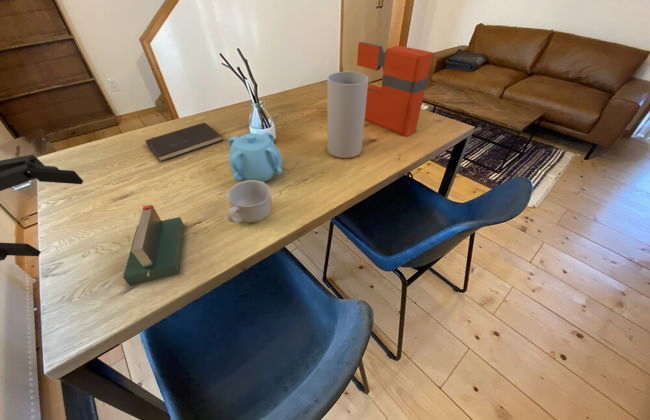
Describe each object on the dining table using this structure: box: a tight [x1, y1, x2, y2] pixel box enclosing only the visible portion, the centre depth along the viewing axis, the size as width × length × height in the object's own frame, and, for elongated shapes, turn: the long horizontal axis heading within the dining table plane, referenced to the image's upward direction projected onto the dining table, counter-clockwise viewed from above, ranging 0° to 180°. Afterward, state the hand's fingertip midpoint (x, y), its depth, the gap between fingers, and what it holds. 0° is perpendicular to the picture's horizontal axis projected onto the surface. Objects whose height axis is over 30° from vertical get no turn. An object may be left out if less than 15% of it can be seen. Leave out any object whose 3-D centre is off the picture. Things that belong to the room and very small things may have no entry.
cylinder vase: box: [326, 71, 369, 159], centre depth 92 cm, size 12×12×25 cm
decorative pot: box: [228, 132, 283, 183], centre depth 86 cm, size 16×16×14 cm
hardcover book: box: [144, 122, 223, 163], centre depth 105 cm, size 16×23×2 cm
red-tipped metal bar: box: [130, 204, 163, 269], centre depth 62 cm, size 14×2×6 cm, turn 17°
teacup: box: [226, 180, 273, 224], centre depth 72 cm, size 14×11×8 cm
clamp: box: [356, 41, 434, 137], centre depth 110 cm, size 9×35×28 cm, turn 44°
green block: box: [109, 216, 197, 286], centre depth 65 cm, size 18×18×3 cm
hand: (57, 210), depth 43 cm, fingers open, 13 cm apart
